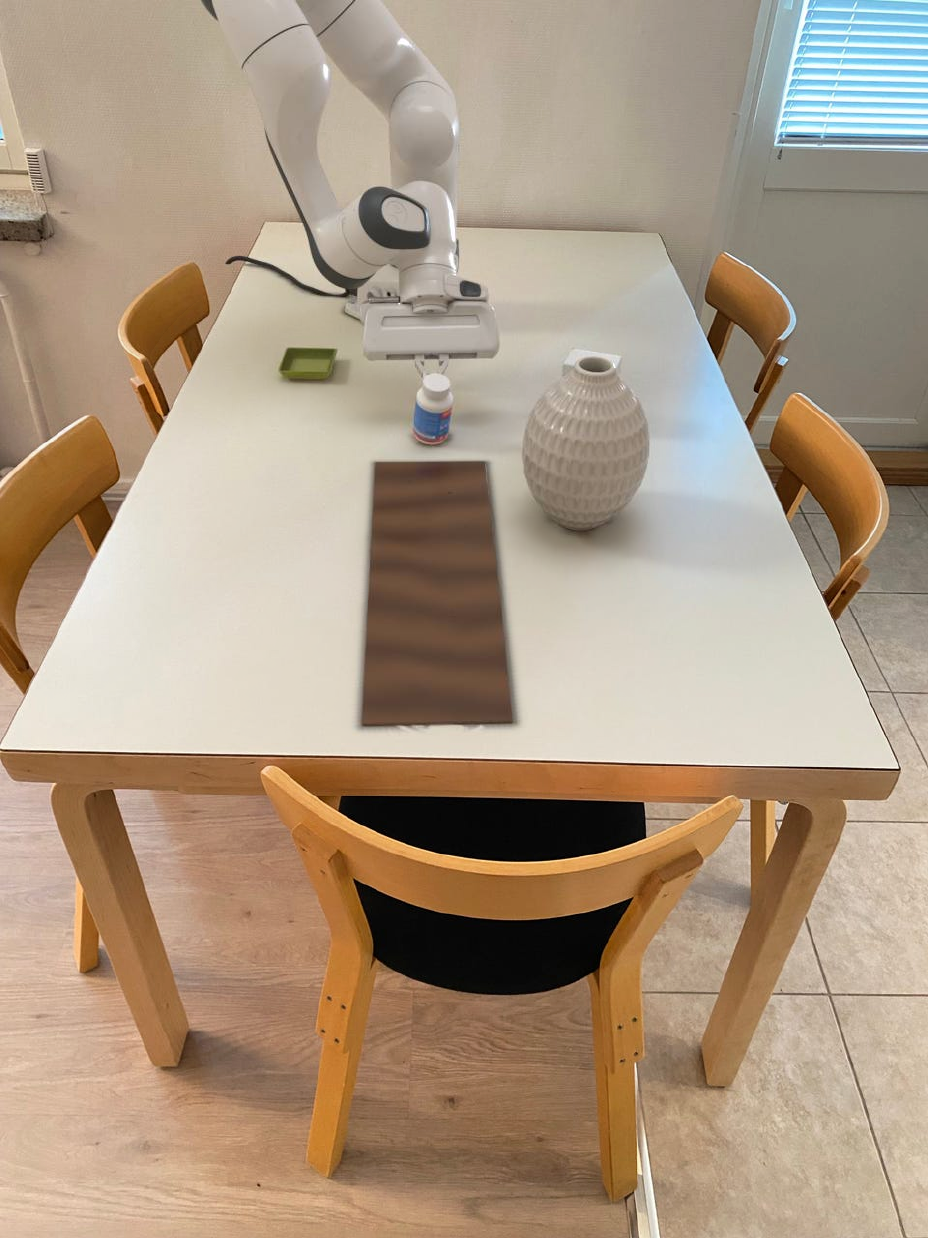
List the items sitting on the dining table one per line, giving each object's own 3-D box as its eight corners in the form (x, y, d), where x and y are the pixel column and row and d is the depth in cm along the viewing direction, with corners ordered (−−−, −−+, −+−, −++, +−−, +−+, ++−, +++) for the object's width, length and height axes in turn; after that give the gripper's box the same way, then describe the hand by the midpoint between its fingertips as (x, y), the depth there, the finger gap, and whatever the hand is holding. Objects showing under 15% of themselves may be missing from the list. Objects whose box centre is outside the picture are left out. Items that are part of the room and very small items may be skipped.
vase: (605, 567, 123) (628, 411, 108) (496, 525, 129) (503, 373, 115) (656, 506, 133) (683, 356, 119) (553, 470, 140) (566, 324, 125)
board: (375, 464, 140) (375, 461, 140) (485, 463, 141) (485, 460, 141) (361, 725, 102) (361, 722, 102) (512, 722, 103) (512, 720, 102)
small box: (615, 418, 151) (623, 355, 144) (607, 435, 147) (615, 371, 140) (565, 409, 153) (571, 346, 146) (556, 425, 149) (562, 362, 142)
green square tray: (278, 382, 158) (277, 370, 157) (287, 358, 165) (286, 346, 163) (331, 384, 158) (330, 372, 157) (338, 359, 165) (337, 348, 163)
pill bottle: (443, 449, 144) (450, 399, 137) (408, 440, 145) (413, 389, 137) (451, 425, 148) (459, 375, 140) (417, 417, 148) (423, 366, 140)
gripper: (358, 287, 140) (361, 381, 139) (498, 285, 141) (503, 378, 140) (359, 305, 146) (363, 394, 145) (494, 303, 147) (498, 391, 146)
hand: (433, 386), depth 143 cm, fingers closed, pressing on pill bottle
